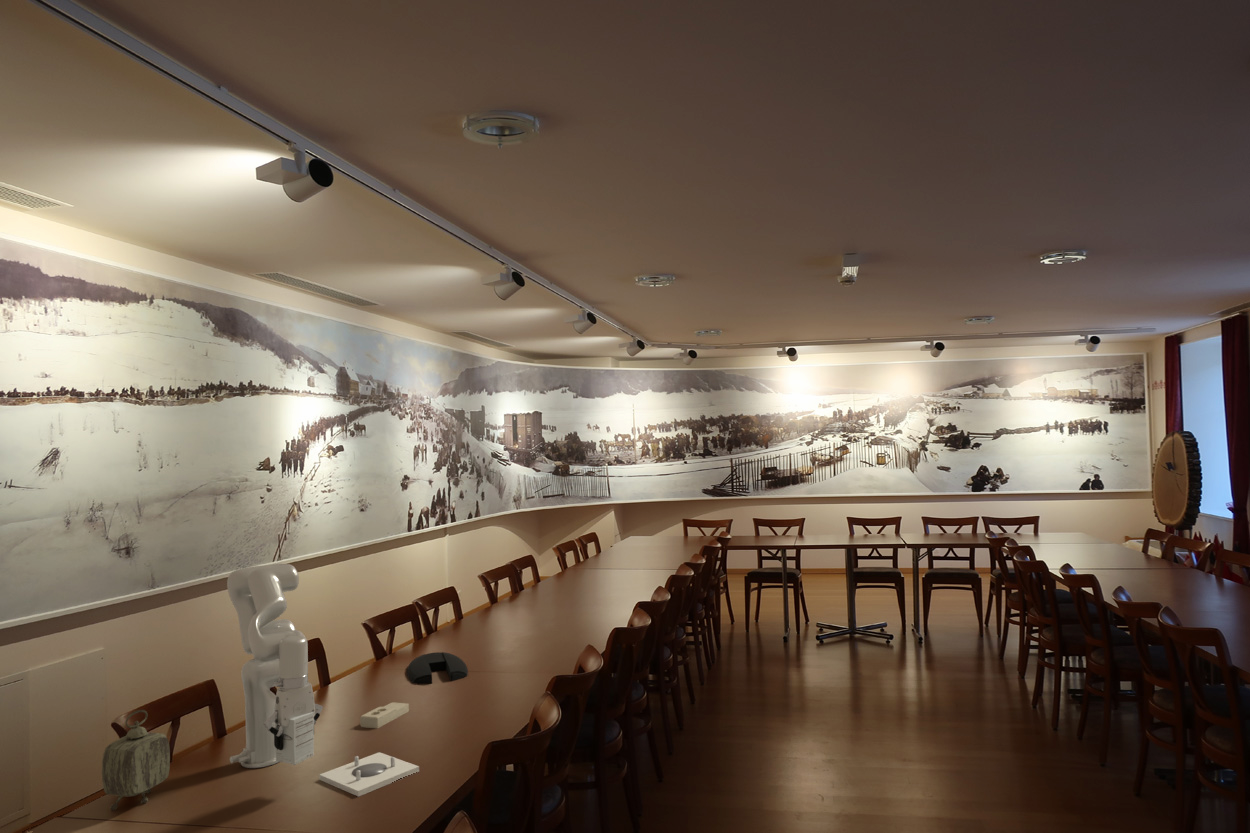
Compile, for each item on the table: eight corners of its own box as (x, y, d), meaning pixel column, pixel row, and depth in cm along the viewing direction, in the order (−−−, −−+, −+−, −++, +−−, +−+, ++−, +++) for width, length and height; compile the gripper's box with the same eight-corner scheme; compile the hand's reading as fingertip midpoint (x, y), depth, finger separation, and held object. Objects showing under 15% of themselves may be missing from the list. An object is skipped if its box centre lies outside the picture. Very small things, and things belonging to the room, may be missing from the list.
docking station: (460, 656, 366) (459, 645, 366) (472, 679, 328) (472, 667, 328) (404, 663, 358) (403, 652, 358) (410, 687, 320) (409, 675, 320)
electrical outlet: (408, 701, 289) (377, 717, 272) (408, 712, 289) (377, 729, 272) (391, 699, 292) (359, 715, 275) (392, 710, 291) (360, 727, 274)
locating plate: (358, 796, 218) (358, 781, 218) (319, 779, 230) (319, 765, 230) (419, 771, 233) (418, 757, 233) (379, 757, 246) (379, 743, 246)
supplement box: (274, 761, 222) (274, 716, 222) (296, 751, 229) (295, 707, 229) (293, 766, 219) (293, 720, 219) (315, 755, 226) (314, 711, 226)
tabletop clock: (148, 790, 228) (147, 701, 229) (173, 792, 225) (172, 703, 226) (102, 813, 214) (100, 718, 215) (128, 816, 211) (126, 720, 212)
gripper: (270, 692, 215) (271, 757, 215) (329, 676, 229) (330, 737, 228) (256, 687, 220) (257, 750, 220) (315, 671, 233) (316, 731, 233)
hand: (294, 743), depth 224 cm, fingers closed on supplement box, 8 cm apart
